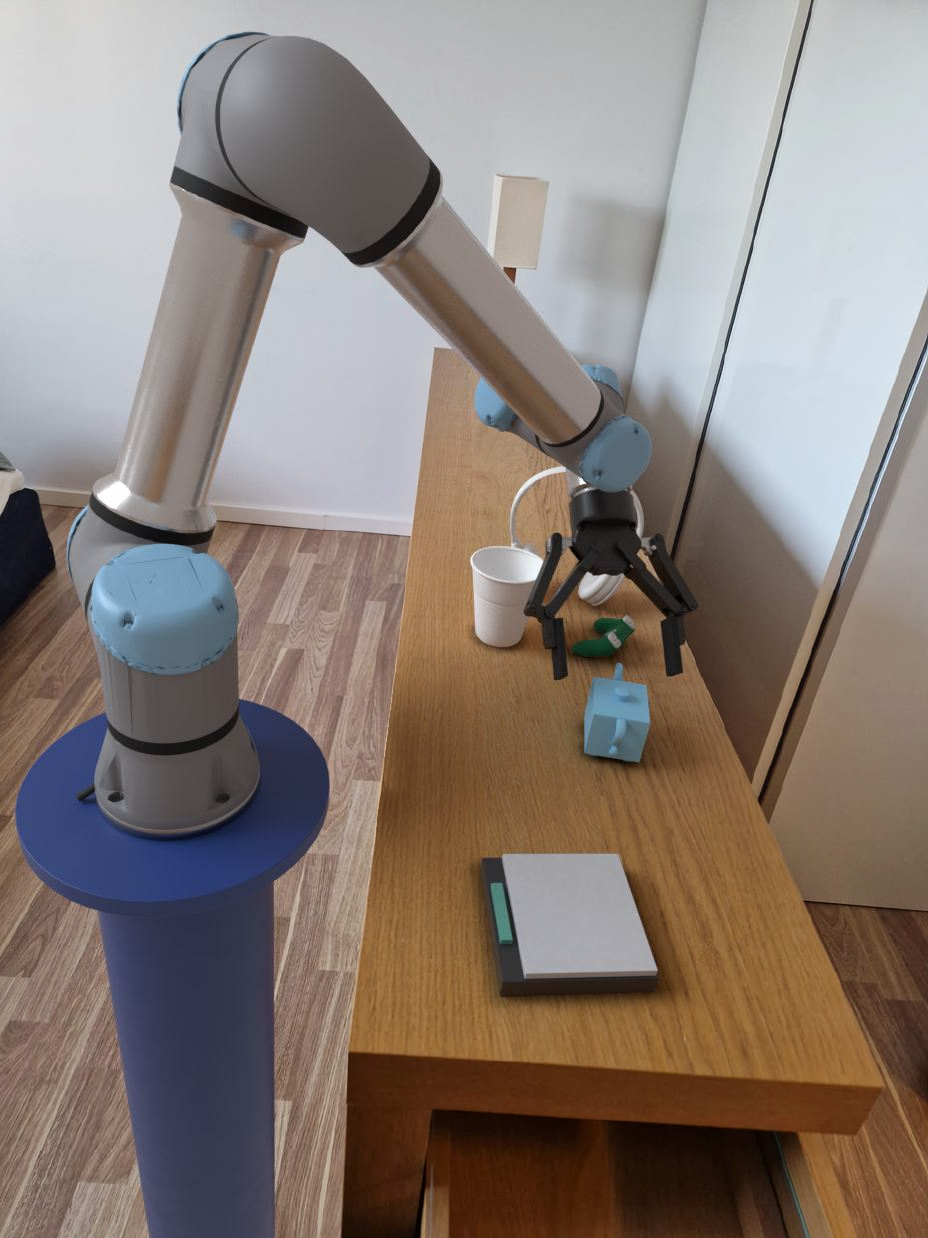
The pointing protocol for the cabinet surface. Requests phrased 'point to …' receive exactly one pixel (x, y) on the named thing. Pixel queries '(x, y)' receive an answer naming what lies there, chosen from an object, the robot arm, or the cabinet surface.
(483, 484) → the cabinet surface
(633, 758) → the teapot
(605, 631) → the green christmas socks
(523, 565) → the cup
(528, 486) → the headphones
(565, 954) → the scale
